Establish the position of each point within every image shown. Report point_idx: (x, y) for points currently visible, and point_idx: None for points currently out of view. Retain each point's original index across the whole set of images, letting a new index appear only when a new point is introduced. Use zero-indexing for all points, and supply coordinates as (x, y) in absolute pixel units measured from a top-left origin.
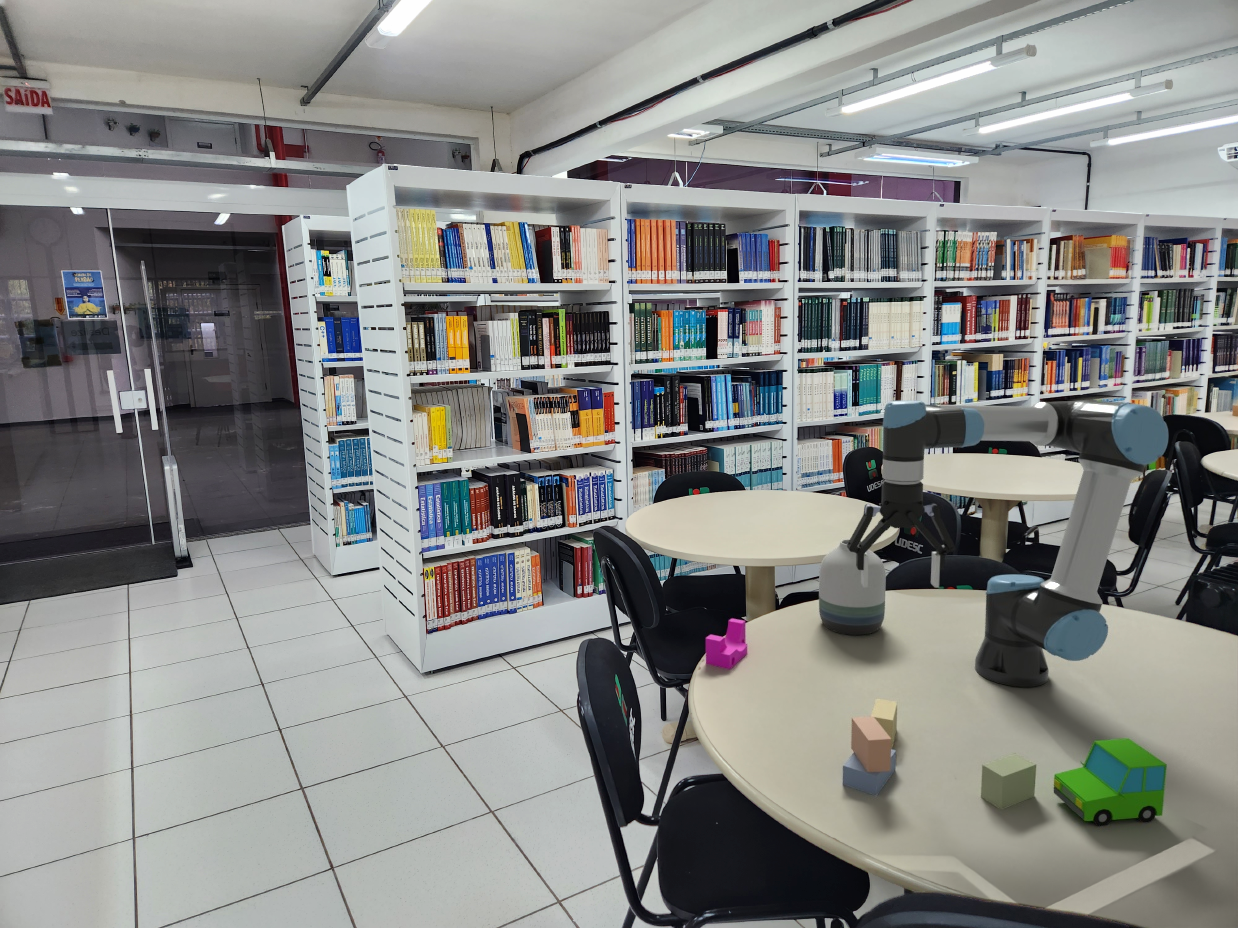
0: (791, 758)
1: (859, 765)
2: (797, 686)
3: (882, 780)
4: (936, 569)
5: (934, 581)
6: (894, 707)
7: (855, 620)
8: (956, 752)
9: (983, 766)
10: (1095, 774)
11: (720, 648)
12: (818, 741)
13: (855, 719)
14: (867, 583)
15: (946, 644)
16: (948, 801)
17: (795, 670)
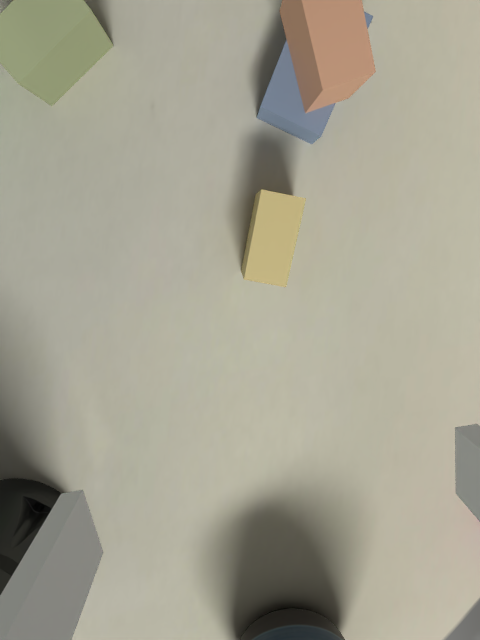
0: (442, 117)
1: None
2: (404, 399)
3: None
4: (21, 597)
5: (73, 525)
6: (252, 252)
7: (291, 635)
8: (142, 205)
9: (89, 8)
10: None
11: None
12: (386, 194)
13: (367, 62)
14: (472, 440)
15: (125, 608)
16: (172, 13)
17: (402, 460)
